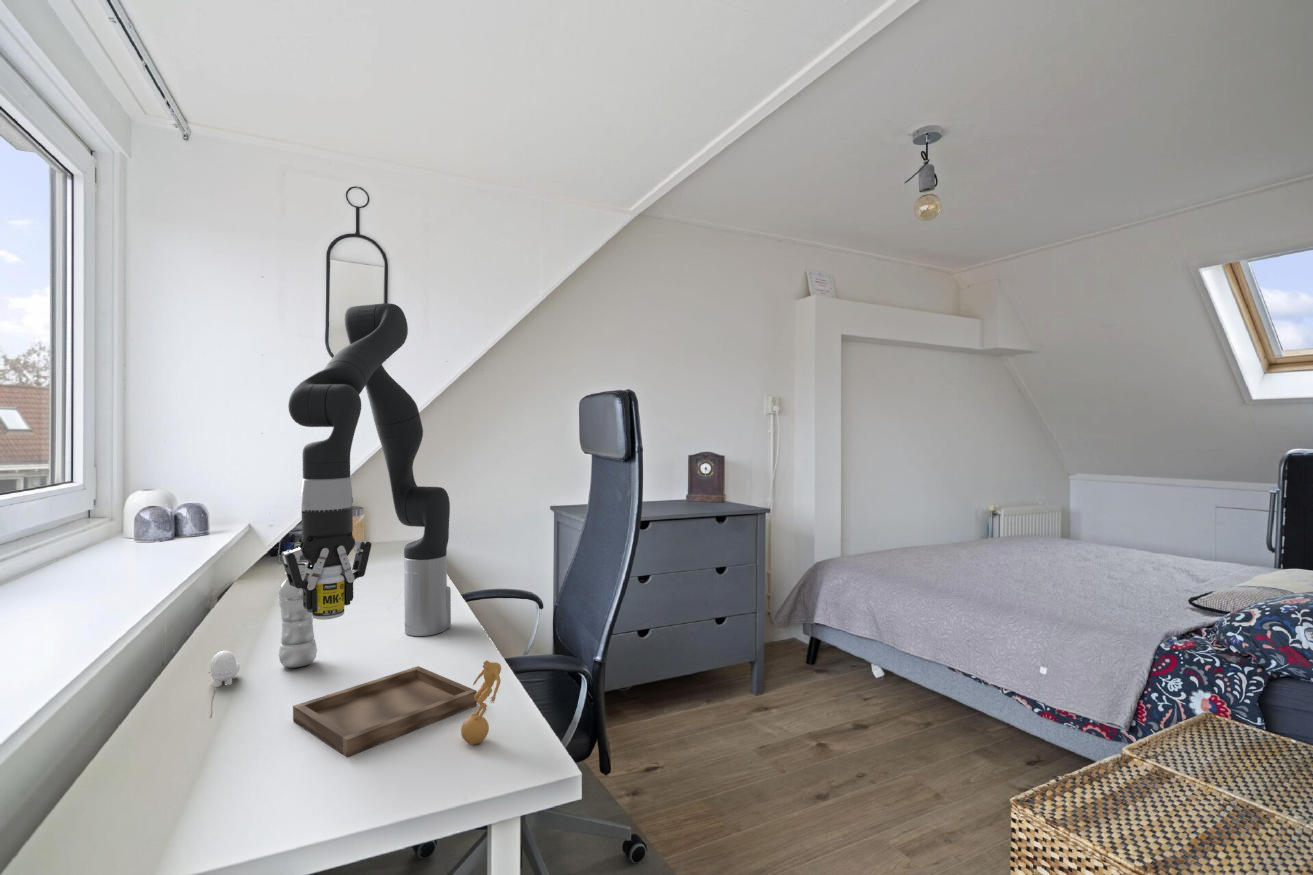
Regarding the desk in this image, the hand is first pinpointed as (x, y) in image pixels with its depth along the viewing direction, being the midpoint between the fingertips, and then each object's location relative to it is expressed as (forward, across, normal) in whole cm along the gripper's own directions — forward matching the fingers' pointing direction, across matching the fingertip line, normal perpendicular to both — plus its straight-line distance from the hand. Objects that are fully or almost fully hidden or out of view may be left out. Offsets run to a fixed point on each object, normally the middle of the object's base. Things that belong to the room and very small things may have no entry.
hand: (328, 607), depth 108 cm
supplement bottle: (+2, 0, 0) cm, 2 cm away
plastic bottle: (+18, -5, -26) cm, 32 cm away
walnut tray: (+17, -6, +8) cm, 20 cm away
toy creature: (+18, +7, -28) cm, 33 cm away
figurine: (+17, -10, +28) cm, 35 cm away
